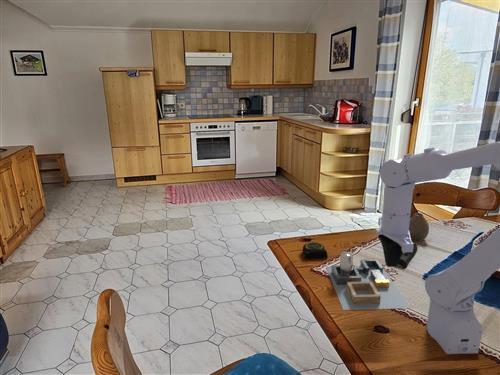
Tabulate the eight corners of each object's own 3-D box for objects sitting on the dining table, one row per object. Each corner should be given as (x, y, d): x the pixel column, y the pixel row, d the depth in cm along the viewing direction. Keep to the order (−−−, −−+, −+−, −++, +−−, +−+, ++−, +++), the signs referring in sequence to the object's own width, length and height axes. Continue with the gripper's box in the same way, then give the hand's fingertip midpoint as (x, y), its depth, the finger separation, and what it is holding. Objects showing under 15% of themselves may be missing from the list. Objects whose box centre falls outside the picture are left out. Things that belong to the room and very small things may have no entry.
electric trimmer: (420, 253, 102) (421, 244, 101) (404, 274, 91) (405, 264, 90) (407, 250, 104) (408, 241, 103) (391, 270, 93) (392, 260, 92)
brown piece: (380, 303, 77) (380, 296, 77) (353, 304, 77) (354, 297, 77) (371, 288, 83) (371, 281, 82) (346, 288, 83) (346, 281, 83)
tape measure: (304, 263, 98) (304, 252, 97) (300, 252, 105) (301, 241, 104) (327, 262, 98) (328, 251, 97) (322, 251, 105) (322, 240, 104)
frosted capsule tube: (353, 281, 86) (354, 257, 84) (341, 281, 86) (342, 257, 84) (350, 274, 89) (351, 251, 87) (338, 274, 89) (339, 251, 87)
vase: (400, 236, 113) (402, 212, 110) (416, 232, 115) (419, 209, 112) (415, 244, 106) (418, 219, 104) (432, 240, 108) (435, 216, 106)
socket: (388, 283, 85) (389, 276, 84) (336, 285, 85) (337, 278, 84) (376, 265, 93) (377, 259, 93) (329, 266, 94) (329, 260, 93)
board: (410, 311, 75) (411, 308, 75) (343, 313, 76) (343, 309, 76) (380, 268, 94) (380, 265, 93) (325, 269, 94) (326, 266, 94)
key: (389, 287, 83) (389, 282, 82) (376, 288, 83) (376, 282, 83) (380, 274, 89) (380, 269, 88) (368, 275, 89) (368, 270, 88)
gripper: (367, 201, 80) (364, 251, 84) (391, 225, 66) (385, 283, 70) (396, 200, 80) (391, 250, 84) (426, 223, 66) (419, 282, 70)
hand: (391, 265), depth 77 cm, fingers closed
